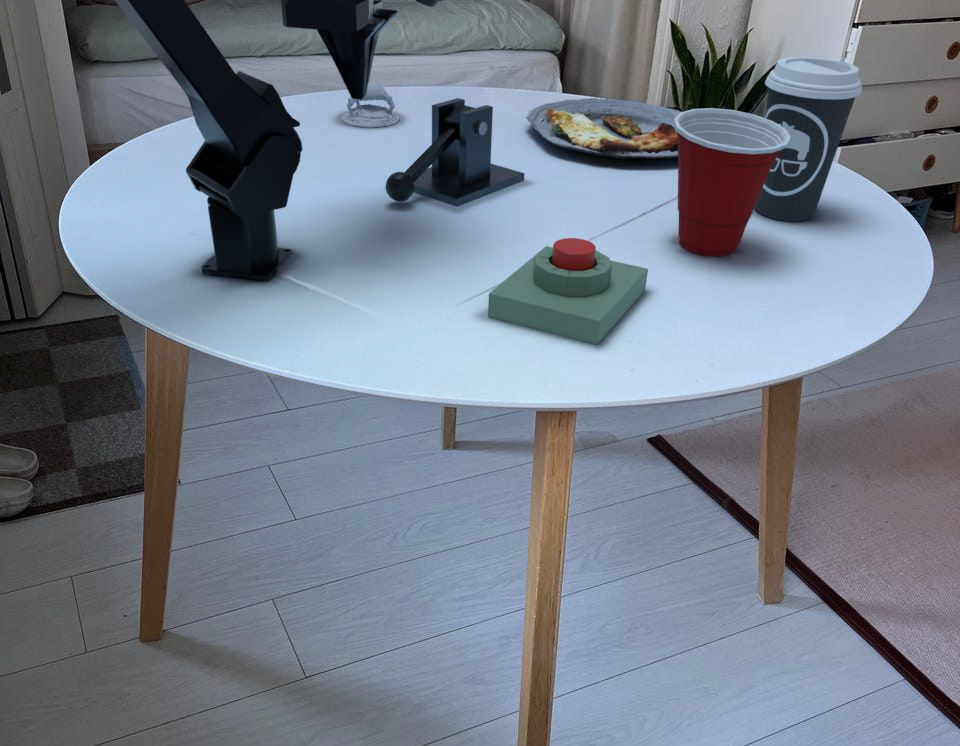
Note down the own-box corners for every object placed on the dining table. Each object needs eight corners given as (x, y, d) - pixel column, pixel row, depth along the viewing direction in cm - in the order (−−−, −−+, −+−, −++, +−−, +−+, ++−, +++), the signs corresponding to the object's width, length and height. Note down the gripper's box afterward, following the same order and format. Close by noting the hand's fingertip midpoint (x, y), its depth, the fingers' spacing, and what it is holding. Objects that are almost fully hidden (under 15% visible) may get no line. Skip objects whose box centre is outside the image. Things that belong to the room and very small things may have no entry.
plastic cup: (706, 277, 86) (732, 147, 79) (633, 237, 93) (650, 115, 86) (787, 255, 91) (818, 131, 84) (711, 220, 98) (733, 102, 91)
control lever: (405, 210, 96) (397, 187, 94) (385, 203, 98) (376, 181, 95) (483, 129, 101) (476, 105, 98) (462, 124, 102) (455, 100, 100)
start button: (584, 277, 76) (586, 257, 75) (544, 268, 78) (546, 248, 77) (599, 262, 79) (602, 243, 78) (561, 253, 80) (563, 234, 79)
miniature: (392, 129, 121) (391, 90, 119) (335, 125, 122) (332, 86, 119) (404, 113, 128) (403, 76, 125) (349, 109, 128) (347, 72, 126)
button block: (597, 345, 74) (602, 300, 72) (487, 317, 78) (489, 272, 75) (645, 291, 83) (651, 249, 81) (544, 267, 86) (547, 226, 84)
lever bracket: (456, 209, 98) (458, 125, 93) (395, 189, 103) (393, 107, 97) (524, 183, 106) (529, 103, 100) (464, 165, 110) (466, 88, 105)
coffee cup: (842, 227, 98) (883, 77, 89) (755, 226, 97) (788, 75, 88) (809, 196, 105) (844, 55, 96) (728, 195, 105) (756, 54, 96)
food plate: (744, 169, 113) (750, 139, 111) (564, 177, 108) (567, 147, 106) (663, 113, 132) (666, 88, 130) (508, 119, 127) (509, 92, 125)
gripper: (414, -88, 66) (416, 134, 75) (470, -106, 81) (466, 82, 90) (269, -96, 68) (288, 122, 77) (350, -112, 82) (358, 73, 92)
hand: (358, 98), depth 84 cm, fingers closed
